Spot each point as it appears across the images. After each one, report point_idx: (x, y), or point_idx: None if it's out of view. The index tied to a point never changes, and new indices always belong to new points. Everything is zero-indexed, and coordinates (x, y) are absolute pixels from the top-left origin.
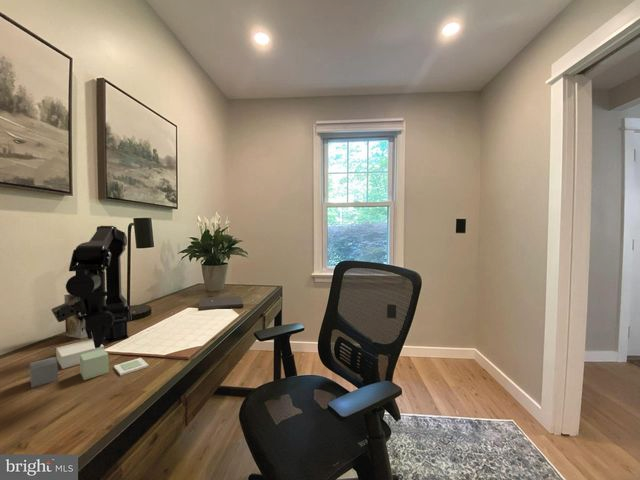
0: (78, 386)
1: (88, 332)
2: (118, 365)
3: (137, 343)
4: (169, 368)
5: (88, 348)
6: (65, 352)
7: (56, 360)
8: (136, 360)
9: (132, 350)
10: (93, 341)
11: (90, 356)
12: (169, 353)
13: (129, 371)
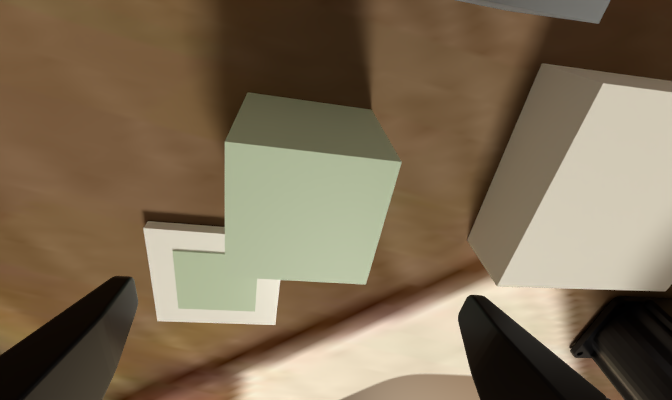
0: (174, 41)
1: (506, 359)
2: None
3: None
4: None
5: (554, 230)
6: (655, 124)
7: (499, 2)
8: (252, 308)
9: (414, 324)
10: (53, 336)
11: (281, 198)
12: (240, 384)
13: (150, 258)
